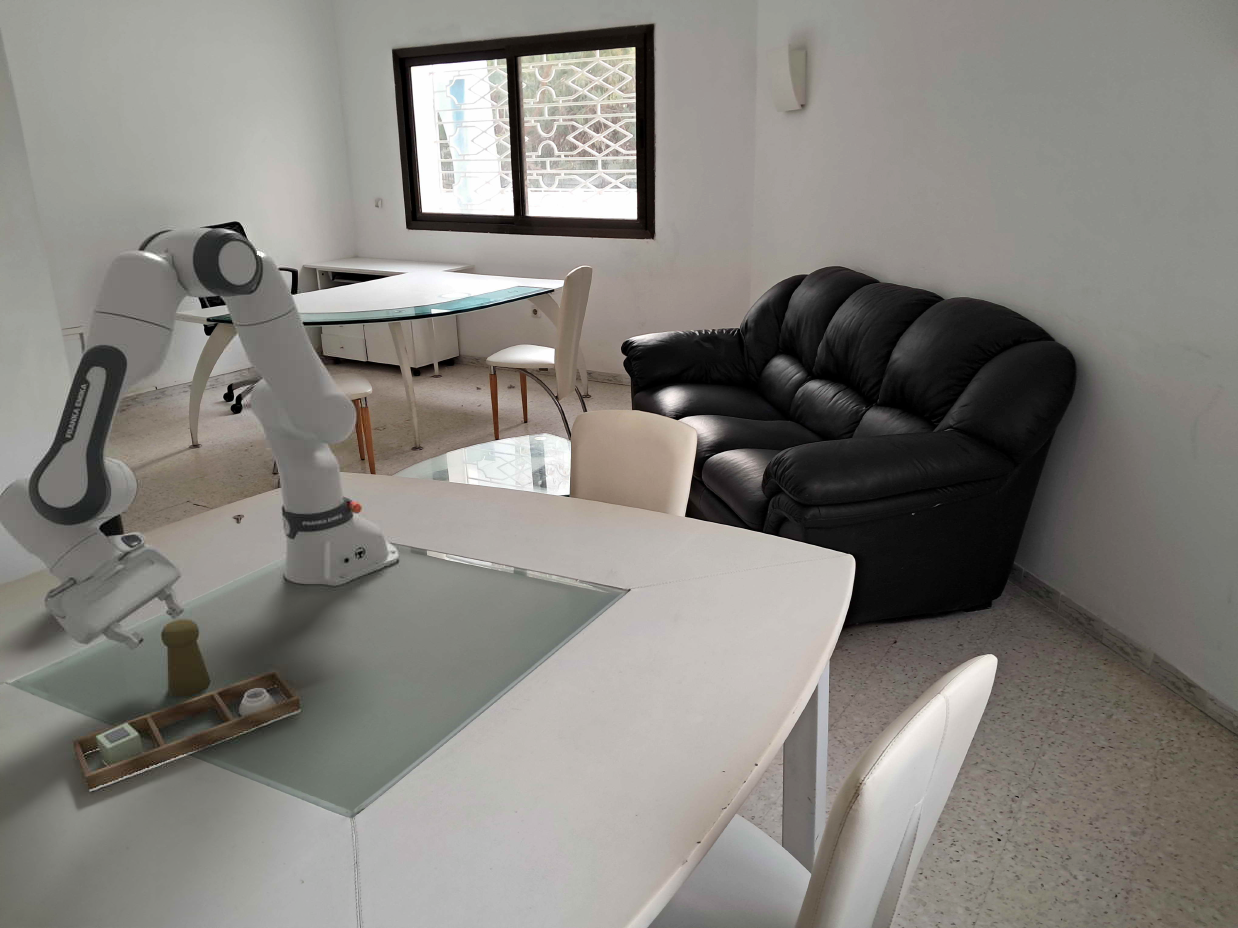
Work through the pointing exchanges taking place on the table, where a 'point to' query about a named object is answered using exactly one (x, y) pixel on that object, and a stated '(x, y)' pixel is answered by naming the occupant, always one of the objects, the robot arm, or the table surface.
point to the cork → (184, 659)
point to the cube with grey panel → (119, 744)
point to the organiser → (196, 740)
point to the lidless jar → (255, 701)
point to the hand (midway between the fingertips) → (159, 629)
